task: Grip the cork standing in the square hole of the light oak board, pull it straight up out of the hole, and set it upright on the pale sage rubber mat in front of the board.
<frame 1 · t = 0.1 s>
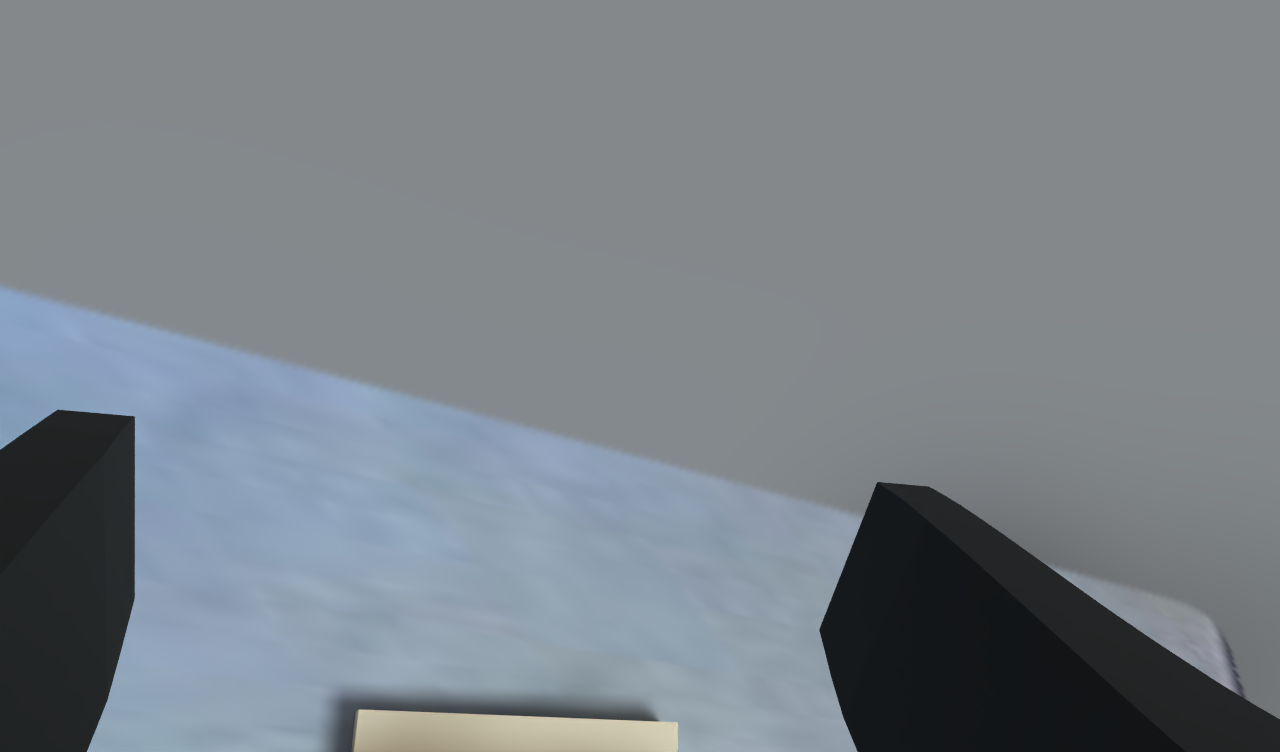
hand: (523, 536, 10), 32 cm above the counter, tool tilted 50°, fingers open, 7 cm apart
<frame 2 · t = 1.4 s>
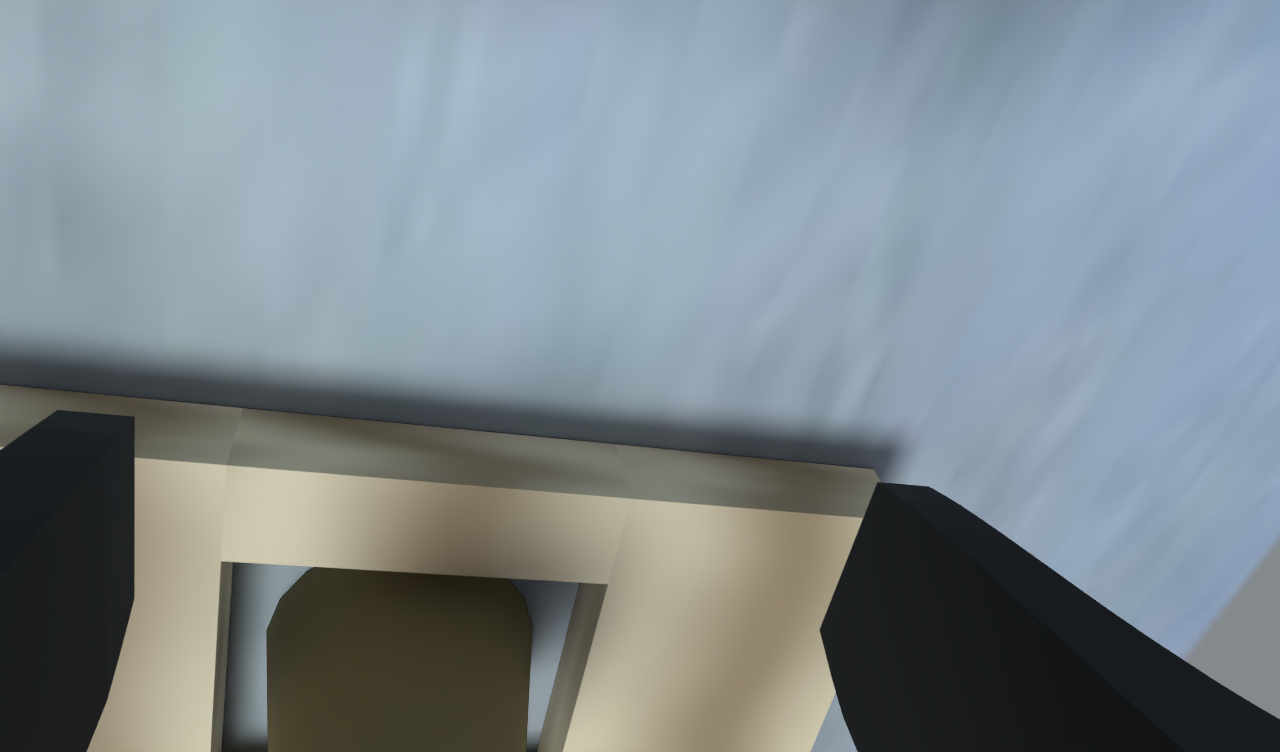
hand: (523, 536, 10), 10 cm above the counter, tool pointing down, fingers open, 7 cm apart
socket board: (402, 645, 24), on the counter
cork: (402, 638, 24), resting in socket board
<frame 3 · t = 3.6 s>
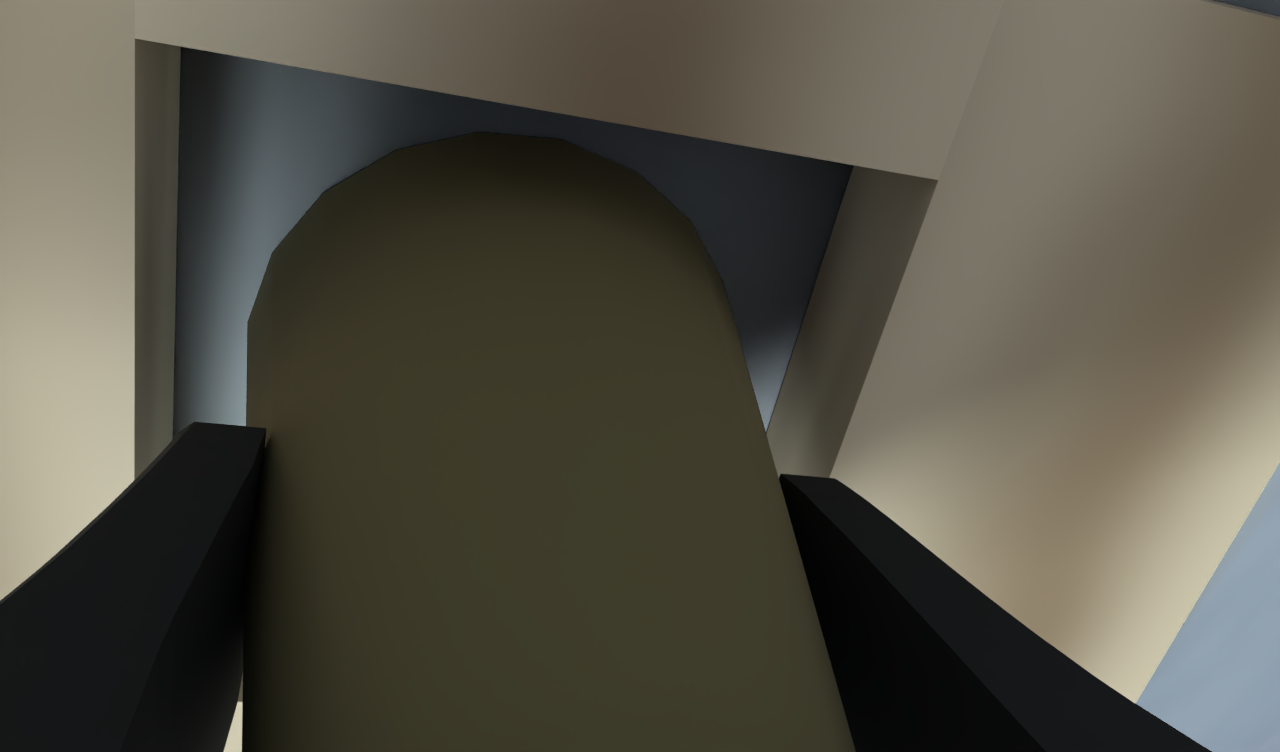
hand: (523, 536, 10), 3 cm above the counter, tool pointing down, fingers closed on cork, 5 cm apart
socket board: (499, 367, 13), on the counter
cork: (498, 360, 13), resting in socket board, touching gripper
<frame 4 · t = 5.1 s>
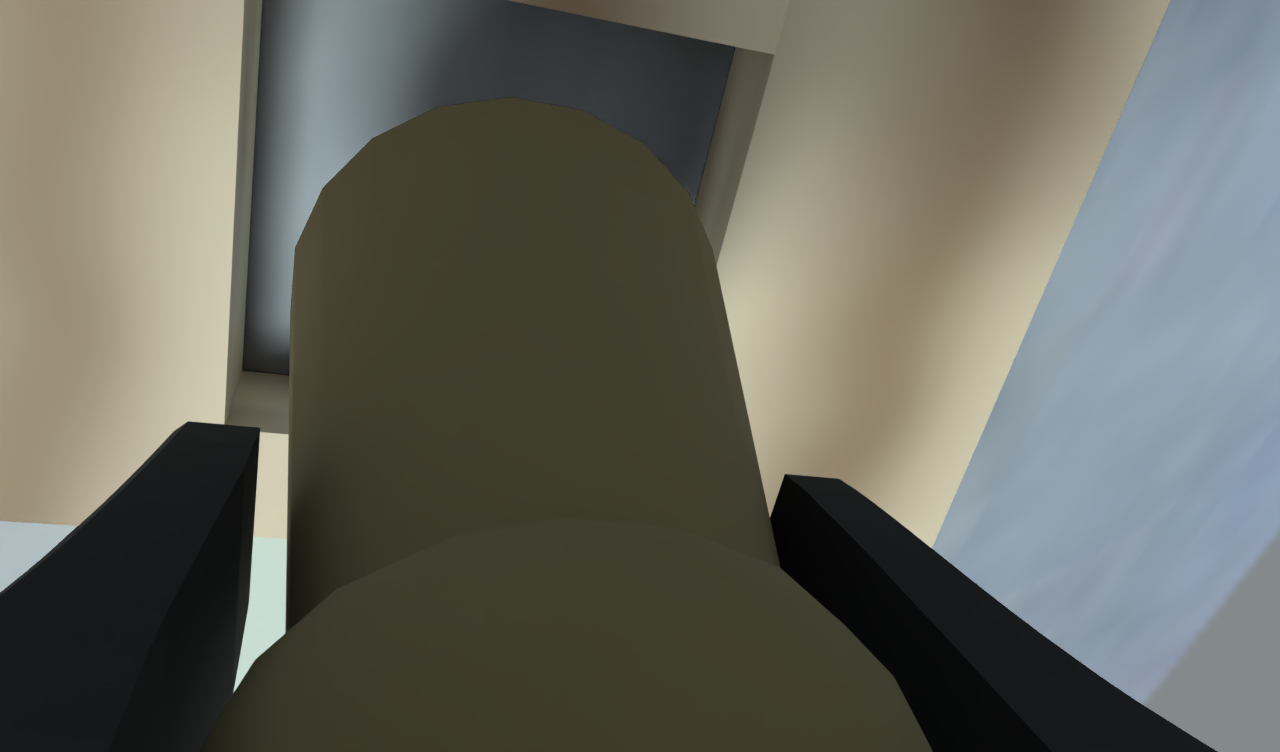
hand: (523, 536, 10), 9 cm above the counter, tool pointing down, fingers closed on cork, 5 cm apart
rubber mat: (356, 701, 23), on the counter
socket board: (481, 206, 18), on the counter
cork: (509, 303, 15), point 4 cm above the counter, touching gripper
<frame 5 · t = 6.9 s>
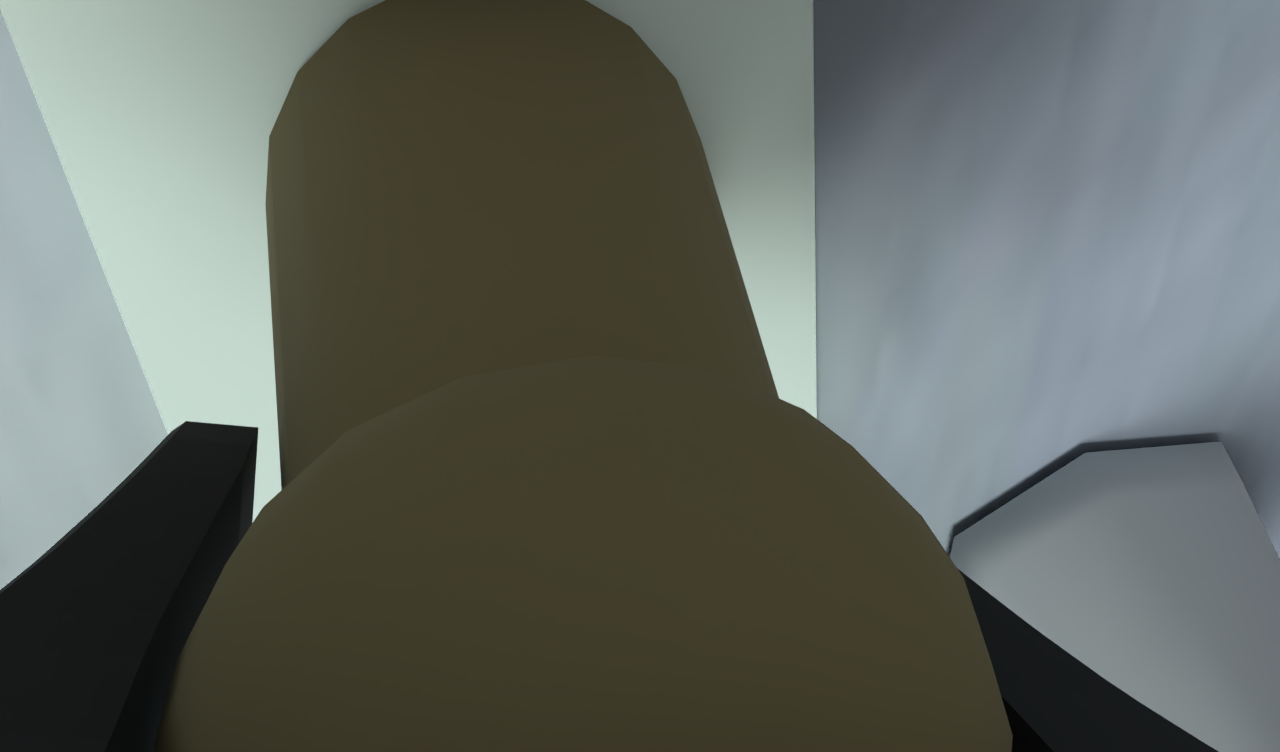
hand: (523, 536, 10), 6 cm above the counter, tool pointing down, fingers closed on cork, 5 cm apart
flask: (1082, 573, 22), on the counter
rubber mat: (484, 273, 16), on the counter
cork: (492, 198, 15), resting on rubber mat, touching gripper
when the fingers open (5 cm above the counter, at t = 7.6 s): cork stays where it is, resting on rubber mat.
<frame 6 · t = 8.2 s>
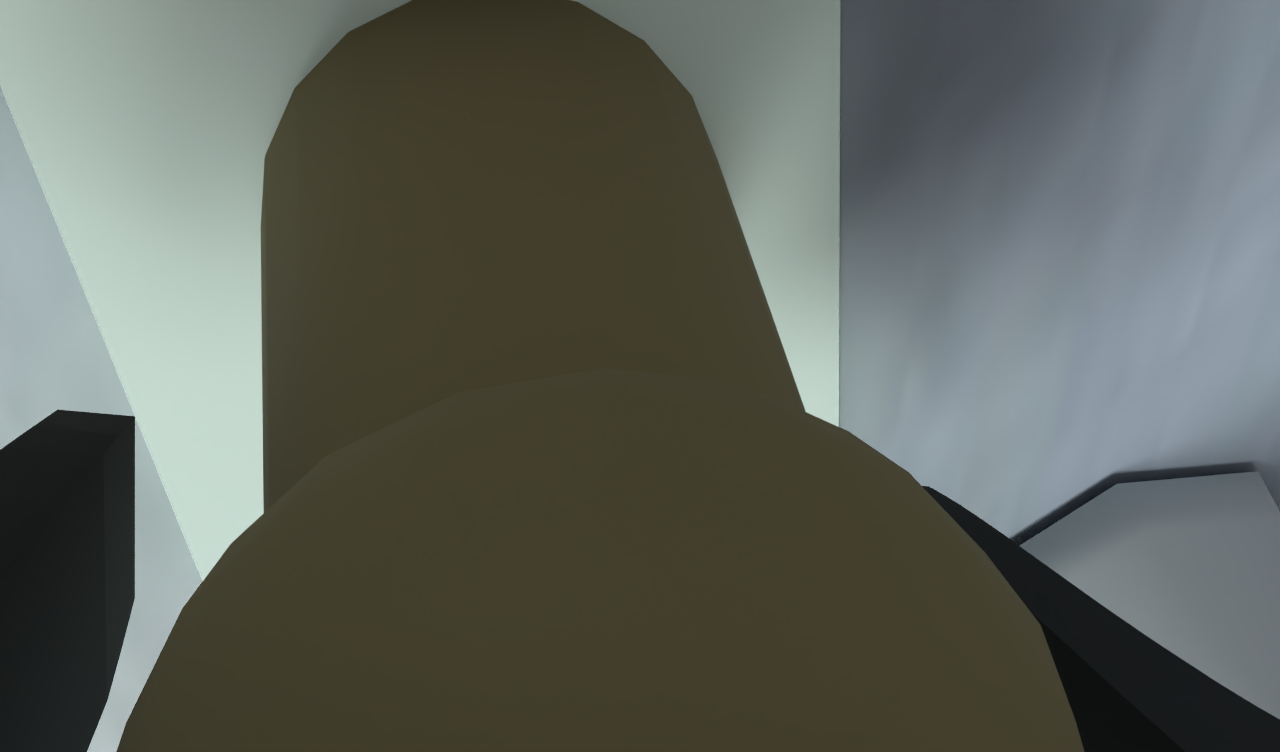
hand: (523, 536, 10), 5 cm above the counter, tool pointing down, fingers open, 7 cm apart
flask: (1111, 605, 21), on the counter
rubber mat: (491, 301, 15), on the counter
cork: (499, 221, 14), resting on rubber mat
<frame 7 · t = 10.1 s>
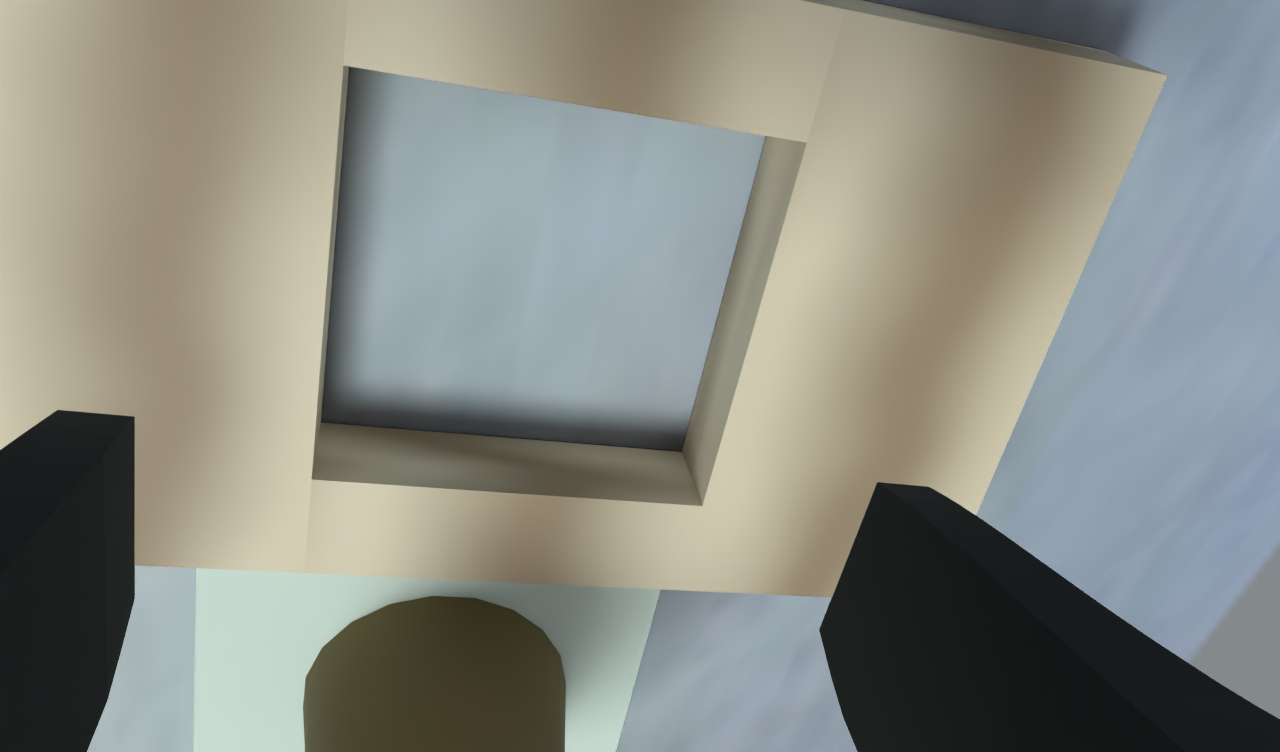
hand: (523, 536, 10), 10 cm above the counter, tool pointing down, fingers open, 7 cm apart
rubber mat: (417, 718, 25), on the counter
socket board: (538, 272, 20), on the counter
cork: (437, 689, 24), resting on rubber mat
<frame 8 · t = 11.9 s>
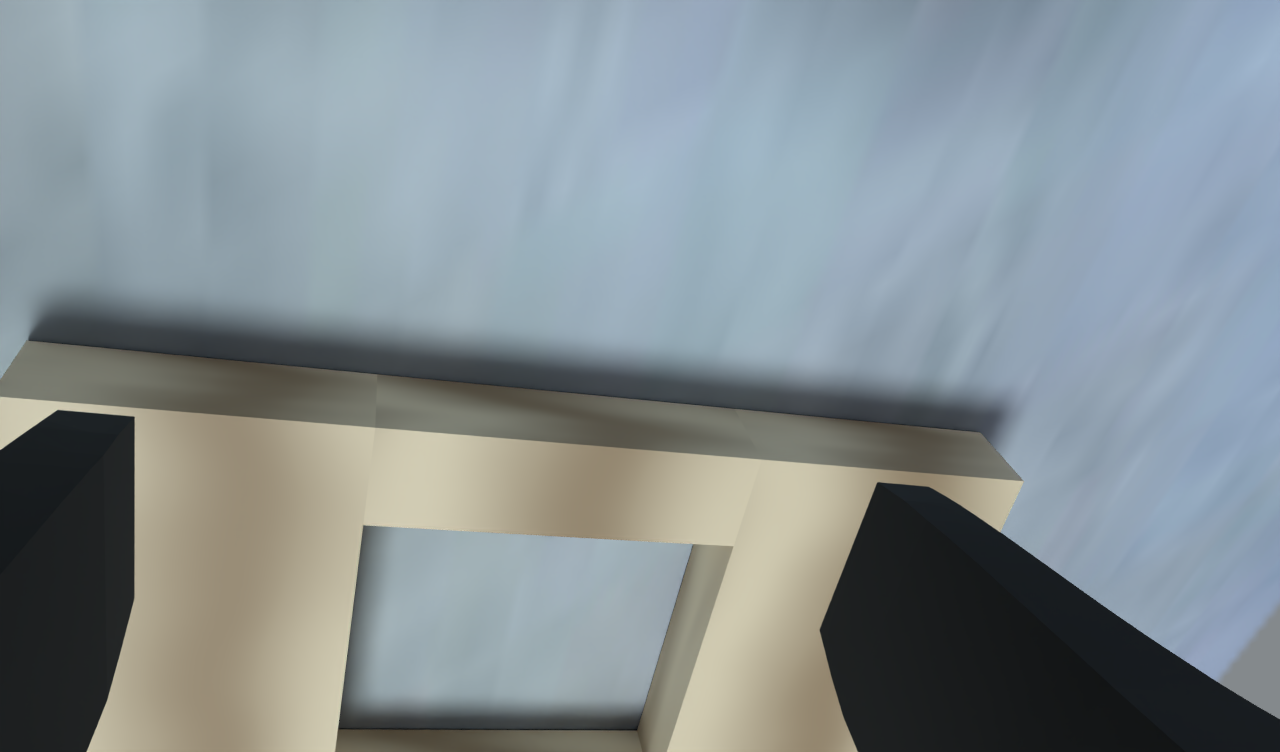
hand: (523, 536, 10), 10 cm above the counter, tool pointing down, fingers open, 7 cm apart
socket board: (516, 613, 24), on the counter
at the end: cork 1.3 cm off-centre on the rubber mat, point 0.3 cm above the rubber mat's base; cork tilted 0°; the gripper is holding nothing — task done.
